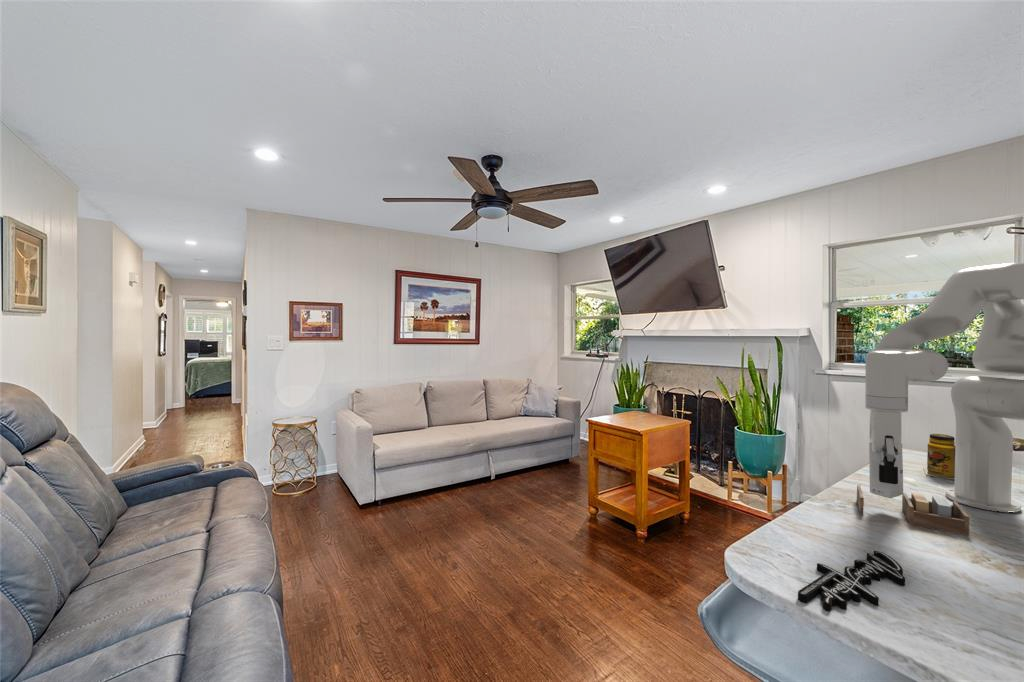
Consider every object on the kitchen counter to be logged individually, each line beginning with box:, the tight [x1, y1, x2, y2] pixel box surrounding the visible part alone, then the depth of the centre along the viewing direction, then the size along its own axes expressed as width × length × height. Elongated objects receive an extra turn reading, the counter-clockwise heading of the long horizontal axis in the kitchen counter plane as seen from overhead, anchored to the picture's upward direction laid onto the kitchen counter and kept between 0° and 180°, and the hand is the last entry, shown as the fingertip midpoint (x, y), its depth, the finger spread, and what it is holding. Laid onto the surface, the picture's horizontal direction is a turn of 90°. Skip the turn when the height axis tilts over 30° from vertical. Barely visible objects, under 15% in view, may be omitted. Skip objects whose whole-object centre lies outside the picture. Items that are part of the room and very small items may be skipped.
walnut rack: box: [856, 484, 970, 537], centre depth 97 cm, size 10×18×4 cm, turn 54°
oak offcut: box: [910, 492, 929, 513], centre depth 96 cm, size 6×2×5 cm, turn 144°
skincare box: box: [868, 442, 904, 499], centre depth 100 cm, size 6×4×12 cm
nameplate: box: [797, 550, 906, 613], centre depth 72 cm, size 28×2×10 cm
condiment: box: [923, 433, 956, 480], centre depth 127 cm, size 7×8×12 cm
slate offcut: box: [931, 495, 951, 517], centre depth 94 cm, size 6×2×5 cm, turn 144°
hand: (886, 477), depth 100 cm, fingers closed on skincare box, 7 cm apart
